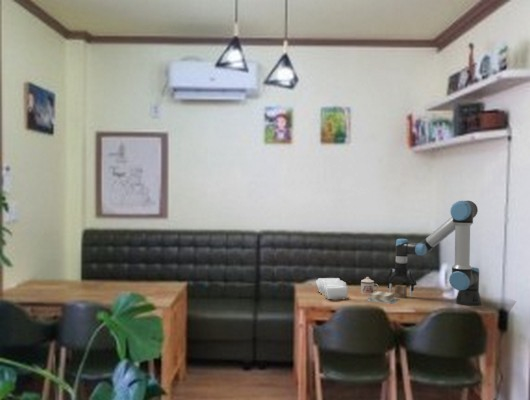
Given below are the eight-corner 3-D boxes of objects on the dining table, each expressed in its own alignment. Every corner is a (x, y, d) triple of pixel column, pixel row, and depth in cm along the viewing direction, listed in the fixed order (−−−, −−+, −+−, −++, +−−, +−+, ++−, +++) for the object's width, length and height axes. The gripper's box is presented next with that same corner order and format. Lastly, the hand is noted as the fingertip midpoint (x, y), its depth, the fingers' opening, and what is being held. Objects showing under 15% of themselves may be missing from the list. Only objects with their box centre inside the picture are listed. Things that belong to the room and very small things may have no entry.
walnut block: (406, 297, 362) (406, 285, 362) (403, 299, 357) (404, 286, 357) (397, 296, 365) (397, 284, 365) (394, 298, 360) (395, 285, 360)
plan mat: (399, 300, 353) (400, 299, 353) (392, 304, 340) (392, 303, 340) (373, 296, 363) (373, 296, 362) (364, 301, 349) (364, 300, 349)
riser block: (394, 299, 353) (394, 293, 353) (388, 302, 343) (388, 296, 343) (376, 297, 359) (376, 291, 359) (370, 300, 349) (370, 294, 349)
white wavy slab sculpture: (350, 301, 347) (350, 285, 347) (324, 301, 345) (324, 285, 345) (337, 291, 382) (338, 275, 382) (314, 291, 380) (314, 275, 380)
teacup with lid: (361, 295, 367) (361, 278, 366) (359, 292, 376) (359, 275, 376) (379, 295, 366) (379, 278, 366) (377, 293, 375) (377, 276, 375)
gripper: (422, 263, 358) (421, 296, 358) (384, 260, 370) (383, 291, 371) (418, 264, 351) (418, 298, 352) (381, 261, 364) (380, 293, 364)
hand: (400, 294), depth 361 cm, fingers open, 13 cm apart
